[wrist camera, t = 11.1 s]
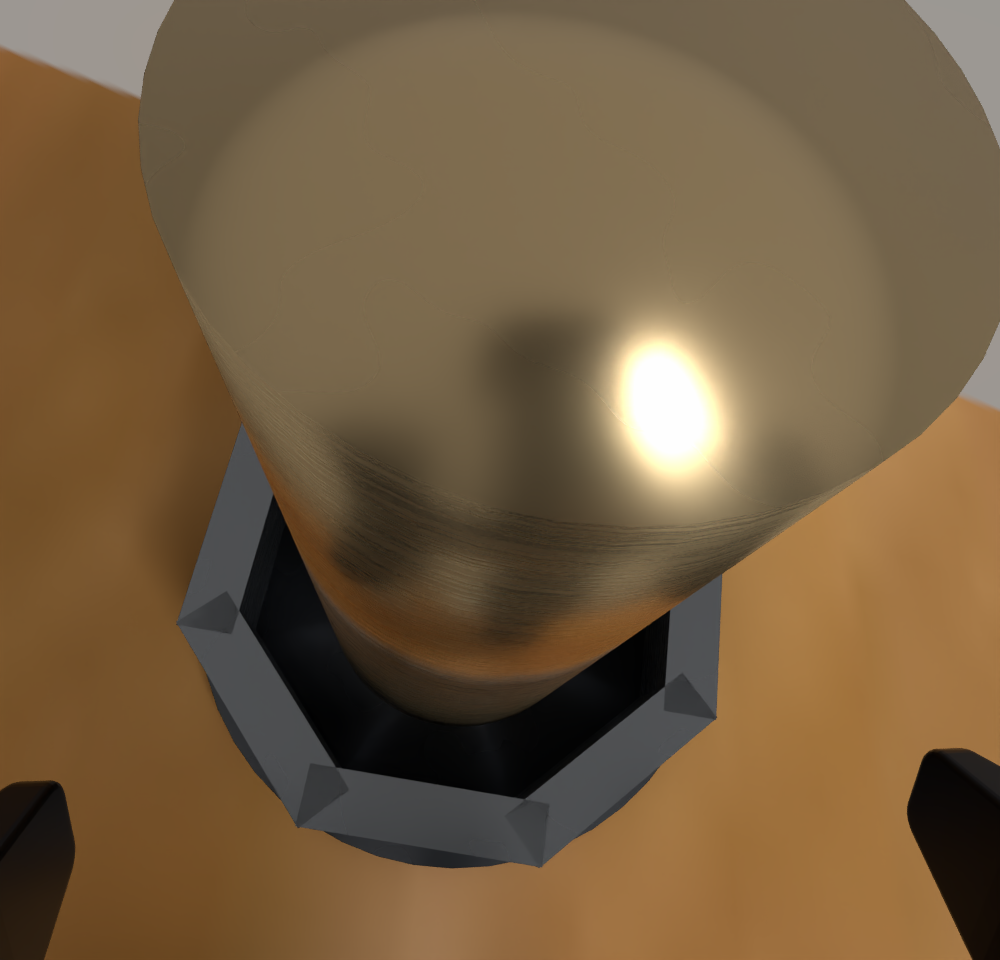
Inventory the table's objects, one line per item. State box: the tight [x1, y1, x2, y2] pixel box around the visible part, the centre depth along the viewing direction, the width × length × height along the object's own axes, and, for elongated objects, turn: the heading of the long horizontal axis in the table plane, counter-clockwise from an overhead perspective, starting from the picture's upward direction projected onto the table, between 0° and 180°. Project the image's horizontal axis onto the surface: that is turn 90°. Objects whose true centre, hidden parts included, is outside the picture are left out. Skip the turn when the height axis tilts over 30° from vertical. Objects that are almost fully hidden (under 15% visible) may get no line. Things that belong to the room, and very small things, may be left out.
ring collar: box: [176, 423, 722, 868], centre depth 16 cm, size 11×11×2 cm
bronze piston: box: [138, 0, 1000, 727], centre depth 11 cm, size 6×6×12 cm
